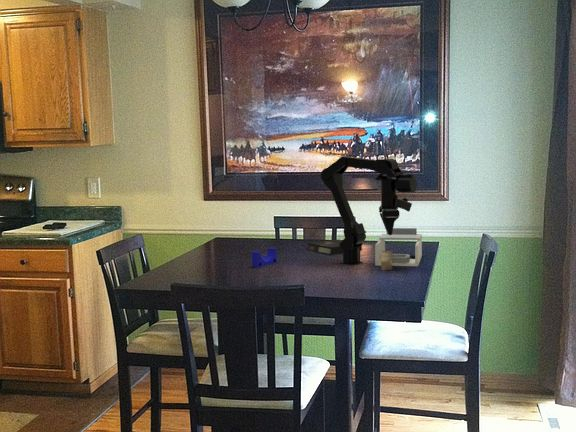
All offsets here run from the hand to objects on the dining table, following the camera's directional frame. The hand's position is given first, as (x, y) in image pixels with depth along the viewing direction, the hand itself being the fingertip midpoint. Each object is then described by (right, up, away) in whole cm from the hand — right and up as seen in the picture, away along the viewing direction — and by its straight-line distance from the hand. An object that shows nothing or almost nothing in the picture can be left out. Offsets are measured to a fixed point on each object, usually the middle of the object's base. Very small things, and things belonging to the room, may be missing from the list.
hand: (389, 233), depth 267 cm
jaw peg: (-2, -13, -5) cm, 14 cm away
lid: (+7, -2, +18) cm, 19 cm away
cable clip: (-48, -13, +12) cm, 51 cm away
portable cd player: (-18, -9, +40) cm, 45 cm away
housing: (+6, -11, +13) cm, 18 cm away
